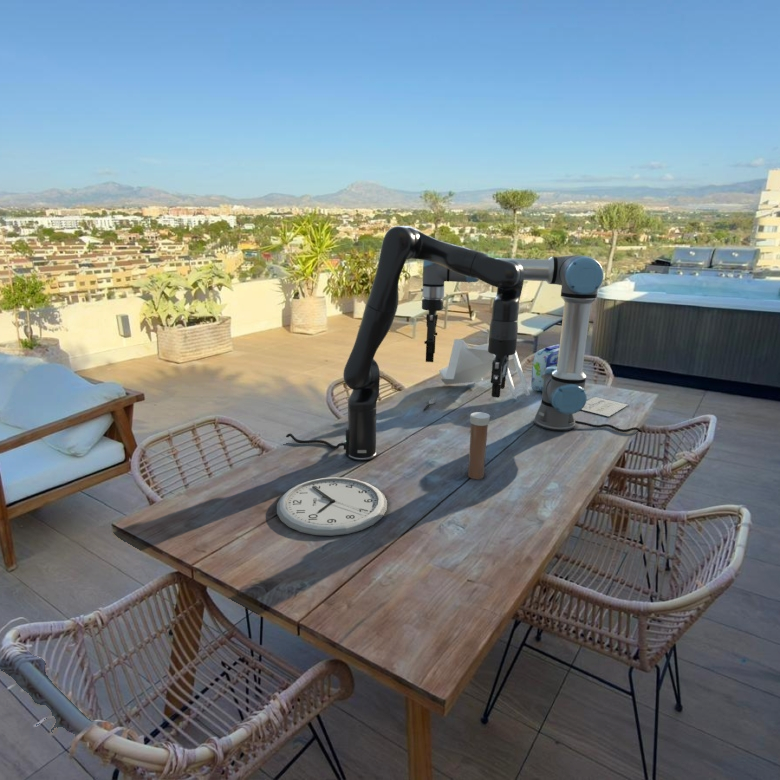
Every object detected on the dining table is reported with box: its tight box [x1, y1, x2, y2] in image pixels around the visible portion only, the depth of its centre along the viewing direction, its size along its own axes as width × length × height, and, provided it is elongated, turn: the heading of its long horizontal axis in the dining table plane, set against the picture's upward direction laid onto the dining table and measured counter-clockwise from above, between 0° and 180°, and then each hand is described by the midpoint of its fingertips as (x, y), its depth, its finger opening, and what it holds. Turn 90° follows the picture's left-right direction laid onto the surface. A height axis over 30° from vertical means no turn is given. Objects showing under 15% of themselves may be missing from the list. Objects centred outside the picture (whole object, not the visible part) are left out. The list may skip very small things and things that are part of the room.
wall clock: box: [276, 476, 388, 537], centre depth 142 cm, size 30×2×30 cm
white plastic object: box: [438, 338, 531, 400], centre depth 245 cm, size 37×45×31 cm
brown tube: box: [467, 422, 489, 480], centre depth 158 cm, size 5×5×19 cm
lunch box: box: [530, 344, 560, 393], centre depth 247 cm, size 26×11×21 cm, turn 134°
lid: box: [469, 411, 491, 426], centre depth 156 cm, size 6×6×2 cm
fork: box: [422, 395, 437, 412], centre depth 223 cm, size 3×16×2 cm, turn 160°
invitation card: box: [580, 396, 629, 418], centre depth 226 cm, size 21×1×15 cm
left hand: (498, 392), depth 147 cm, fingers open, 8 cm apart
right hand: (430, 357), depth 190 cm, fingers open, 13 cm apart
